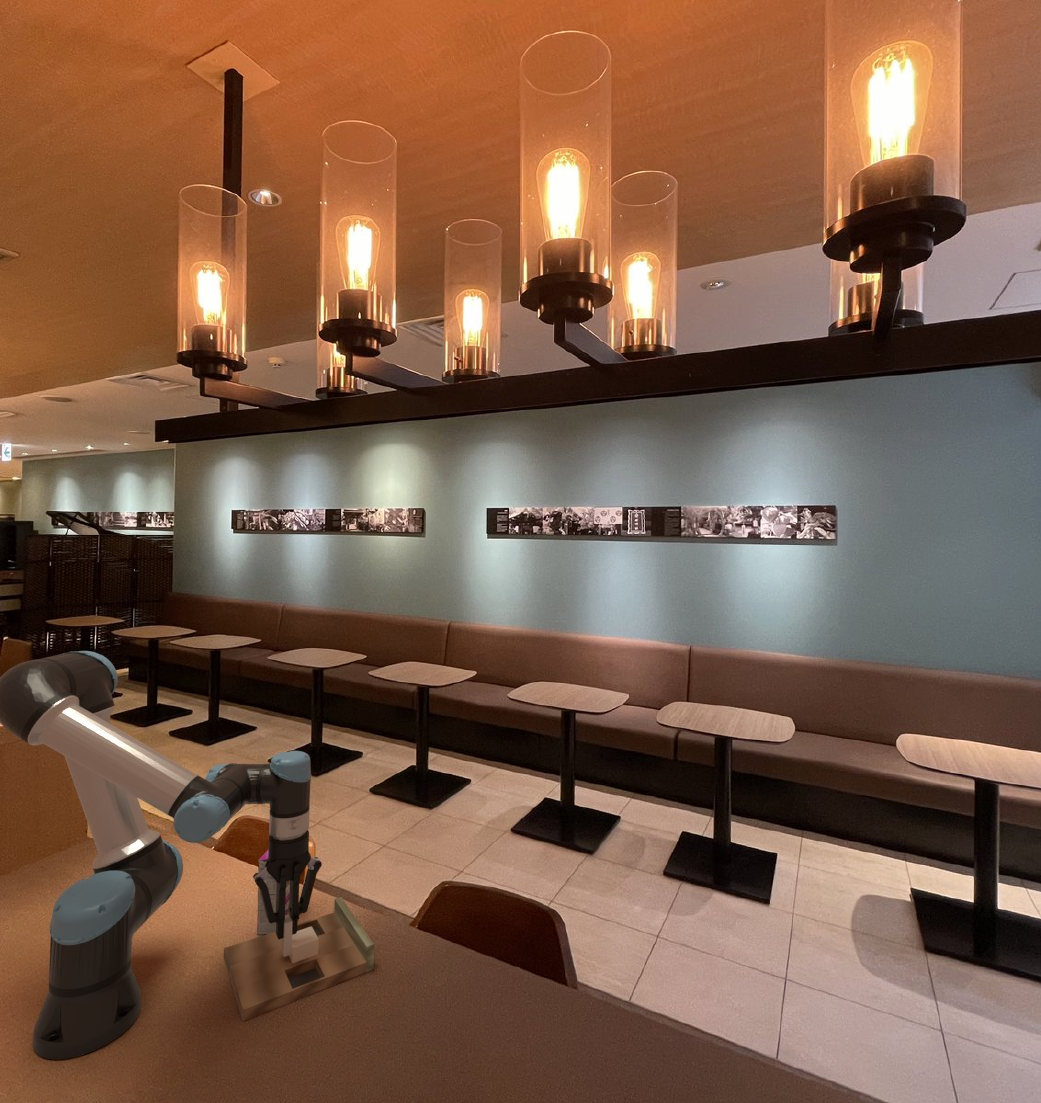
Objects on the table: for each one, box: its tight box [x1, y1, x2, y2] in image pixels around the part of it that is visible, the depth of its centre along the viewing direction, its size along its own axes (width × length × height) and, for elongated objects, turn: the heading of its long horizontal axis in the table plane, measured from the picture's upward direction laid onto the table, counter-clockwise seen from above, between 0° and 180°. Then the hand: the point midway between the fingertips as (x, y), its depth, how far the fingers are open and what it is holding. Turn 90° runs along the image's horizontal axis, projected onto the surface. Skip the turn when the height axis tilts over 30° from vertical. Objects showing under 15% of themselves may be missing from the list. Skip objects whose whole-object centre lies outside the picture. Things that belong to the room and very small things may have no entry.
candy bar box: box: [256, 848, 290, 936], centre depth 133 cm, size 11×5×16 cm, turn 179°
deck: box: [223, 896, 375, 1022], centre depth 119 cm, size 24×20×5 cm
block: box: [289, 926, 319, 963], centre depth 119 cm, size 5×5×3 cm
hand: (286, 951), depth 117 cm, fingers closed
